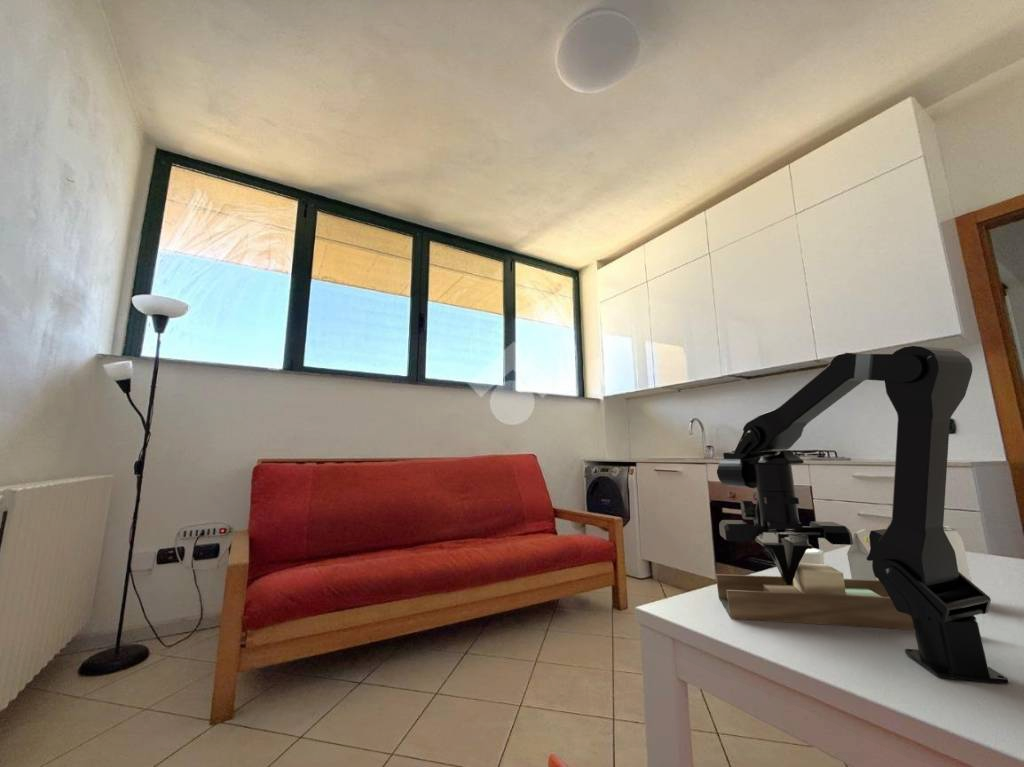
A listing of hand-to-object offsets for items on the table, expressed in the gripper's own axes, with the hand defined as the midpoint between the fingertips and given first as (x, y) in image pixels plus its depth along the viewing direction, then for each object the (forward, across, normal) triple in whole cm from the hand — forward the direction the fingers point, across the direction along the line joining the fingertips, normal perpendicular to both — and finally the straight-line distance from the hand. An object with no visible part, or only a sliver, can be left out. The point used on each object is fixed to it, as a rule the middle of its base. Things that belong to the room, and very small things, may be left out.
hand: (788, 584), depth 69 cm
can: (+4, -28, -11) cm, 30 cm away
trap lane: (+4, -5, 0) cm, 6 cm away
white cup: (+4, -8, -15) cm, 17 cm away
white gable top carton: (+4, -20, -19) cm, 28 cm away
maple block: (+1, -4, 0) cm, 5 cm away
